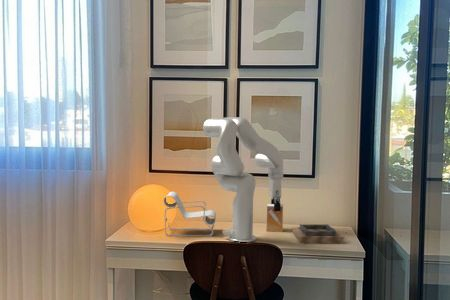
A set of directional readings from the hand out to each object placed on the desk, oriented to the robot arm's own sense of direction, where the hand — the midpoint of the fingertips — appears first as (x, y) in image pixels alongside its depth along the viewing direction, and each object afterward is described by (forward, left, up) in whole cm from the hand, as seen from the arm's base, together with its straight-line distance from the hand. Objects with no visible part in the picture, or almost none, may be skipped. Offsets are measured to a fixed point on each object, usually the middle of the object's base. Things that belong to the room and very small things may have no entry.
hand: (275, 208), depth 226 cm
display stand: (+18, -16, -11) cm, 26 cm away
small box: (0, -1, -11) cm, 11 cm away
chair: (-43, -5, -11) cm, 45 cm away
